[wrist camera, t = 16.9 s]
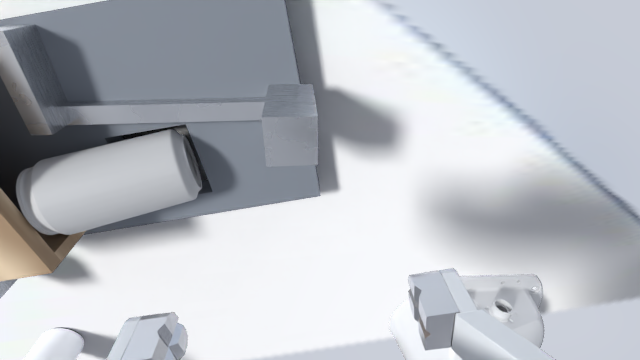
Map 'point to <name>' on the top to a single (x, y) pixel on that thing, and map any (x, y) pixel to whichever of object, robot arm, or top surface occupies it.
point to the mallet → (5, 286)
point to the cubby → (28, 245)
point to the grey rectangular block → (154, 103)
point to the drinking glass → (56, 345)
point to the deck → (167, 91)
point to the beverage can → (109, 183)
